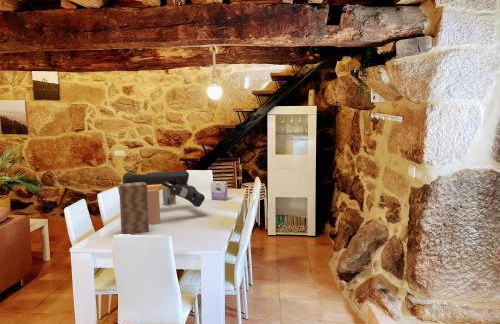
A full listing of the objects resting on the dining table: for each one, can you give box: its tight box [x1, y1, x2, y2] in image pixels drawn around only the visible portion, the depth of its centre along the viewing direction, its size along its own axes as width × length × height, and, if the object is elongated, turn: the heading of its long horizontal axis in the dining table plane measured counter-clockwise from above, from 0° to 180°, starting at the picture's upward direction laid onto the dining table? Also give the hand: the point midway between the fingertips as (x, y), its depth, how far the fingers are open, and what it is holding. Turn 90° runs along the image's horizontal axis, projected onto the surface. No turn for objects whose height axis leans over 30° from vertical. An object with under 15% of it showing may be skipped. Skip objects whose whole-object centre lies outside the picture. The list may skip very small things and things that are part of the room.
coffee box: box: [162, 189, 177, 207], centre depth 329 cm, size 9×6×16 cm
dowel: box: [147, 184, 168, 191], centre depth 273 cm, size 22×4×3 cm, turn 117°
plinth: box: [118, 182, 150, 235], centre depth 254 cm, size 16×10×32 cm, turn 117°
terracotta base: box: [147, 190, 161, 226], centre depth 275 cm, size 9×9×24 cm
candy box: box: [210, 180, 229, 201], centre depth 346 cm, size 14×6×16 cm, turn 76°
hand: (160, 182), depth 275 cm, fingers open, 8 cm apart
